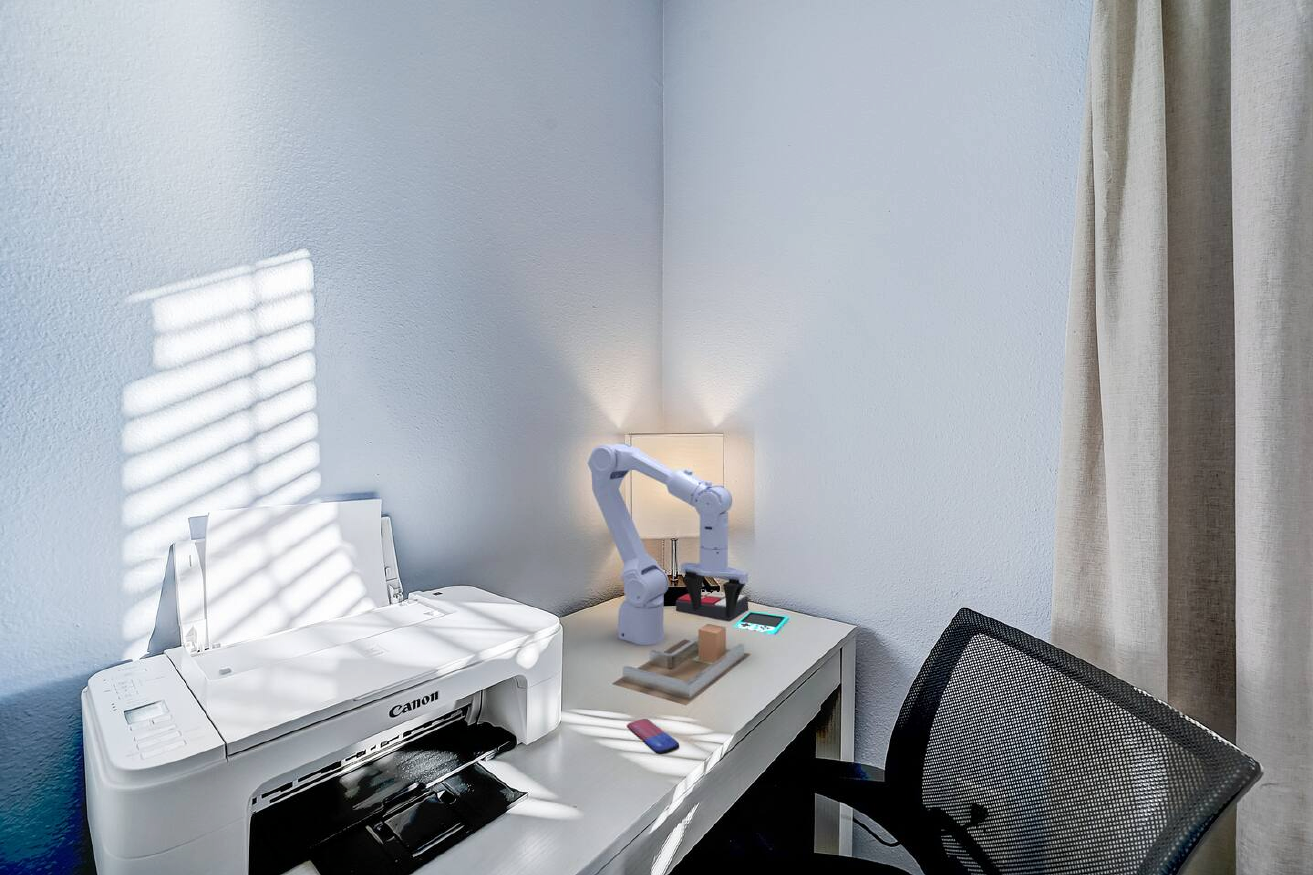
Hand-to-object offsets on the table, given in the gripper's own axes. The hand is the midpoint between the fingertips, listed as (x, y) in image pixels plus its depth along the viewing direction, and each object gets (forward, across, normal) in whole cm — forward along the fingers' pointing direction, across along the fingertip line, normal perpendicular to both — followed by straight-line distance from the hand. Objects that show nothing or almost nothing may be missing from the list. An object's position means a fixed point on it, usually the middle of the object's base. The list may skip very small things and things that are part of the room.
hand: (713, 612), depth 129 cm
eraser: (+10, +8, -34) cm, 37 cm away
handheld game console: (+10, 0, +22) cm, 24 cm away
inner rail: (+8, -5, -6) cm, 11 cm away
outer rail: (+8, 0, -10) cm, 13 cm away
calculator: (+10, -15, +26) cm, 32 cm away
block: (+8, +2, -3) cm, 9 cm away
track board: (+9, 0, -10) cm, 14 cm away
